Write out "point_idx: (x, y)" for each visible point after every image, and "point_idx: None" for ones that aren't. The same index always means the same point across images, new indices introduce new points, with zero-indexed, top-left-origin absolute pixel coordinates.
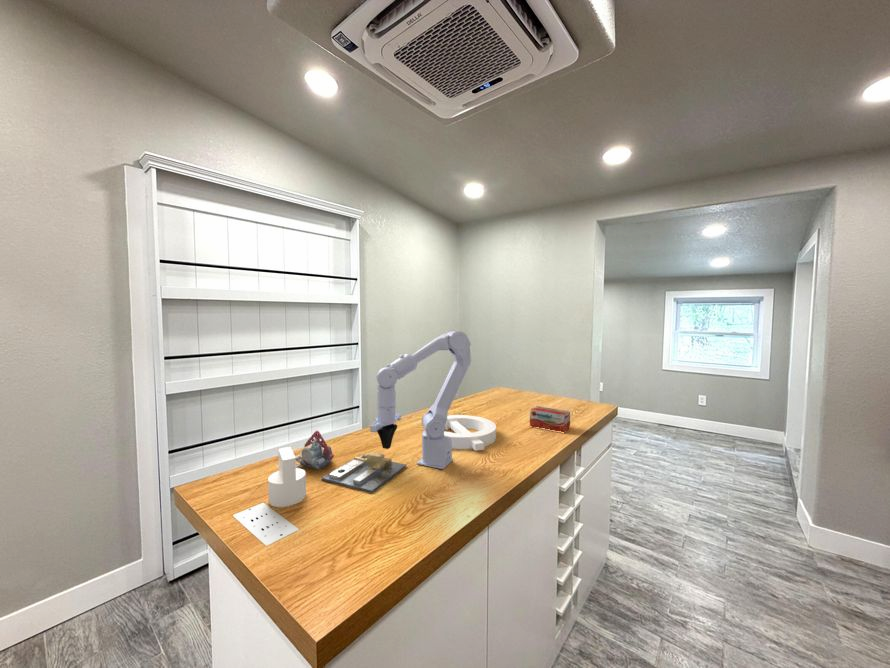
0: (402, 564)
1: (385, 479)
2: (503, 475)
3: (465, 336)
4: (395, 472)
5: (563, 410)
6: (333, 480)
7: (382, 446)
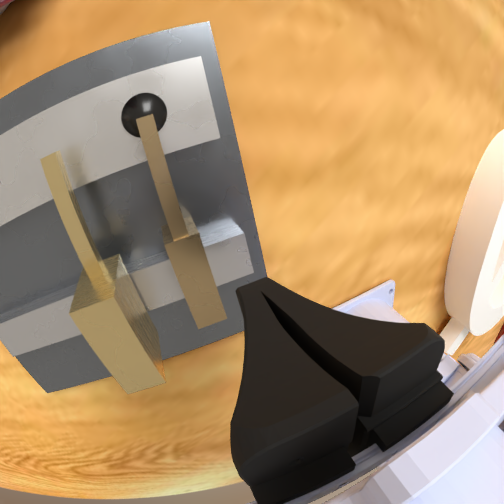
0: (50, 493)
1: None
2: None
3: None
4: (188, 349)
5: None
6: None
7: (238, 294)
